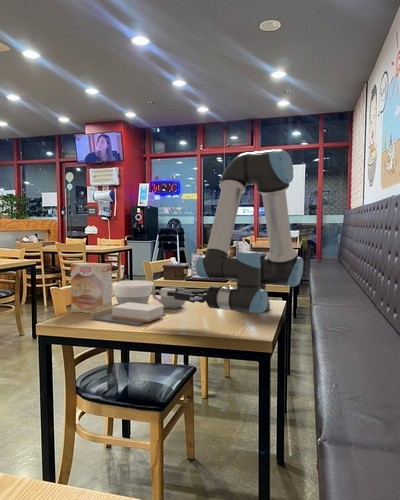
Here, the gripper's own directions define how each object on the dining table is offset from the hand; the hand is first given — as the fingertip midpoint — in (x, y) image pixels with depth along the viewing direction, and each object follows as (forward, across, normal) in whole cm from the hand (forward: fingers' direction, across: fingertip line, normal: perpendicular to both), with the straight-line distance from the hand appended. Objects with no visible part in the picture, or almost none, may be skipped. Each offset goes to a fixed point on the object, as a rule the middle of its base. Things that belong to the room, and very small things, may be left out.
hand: (161, 292), depth 144 cm
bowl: (+29, -21, +11) cm, 37 cm away
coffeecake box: (+34, -1, +11) cm, 36 cm away
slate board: (+14, +1, +11) cm, 17 cm away
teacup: (+11, -22, +11) cm, 27 cm away
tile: (+2, +1, +8) cm, 8 cm away
